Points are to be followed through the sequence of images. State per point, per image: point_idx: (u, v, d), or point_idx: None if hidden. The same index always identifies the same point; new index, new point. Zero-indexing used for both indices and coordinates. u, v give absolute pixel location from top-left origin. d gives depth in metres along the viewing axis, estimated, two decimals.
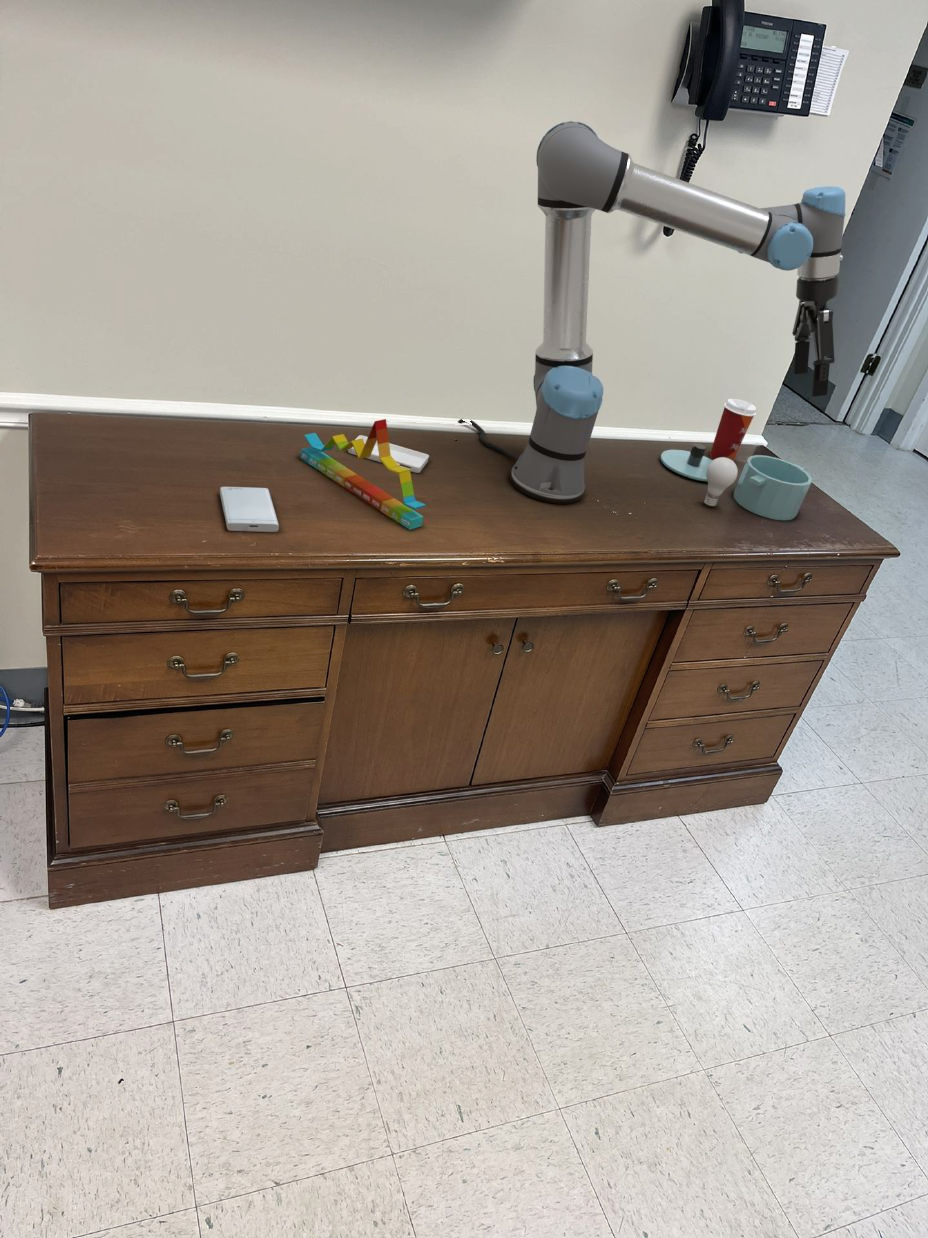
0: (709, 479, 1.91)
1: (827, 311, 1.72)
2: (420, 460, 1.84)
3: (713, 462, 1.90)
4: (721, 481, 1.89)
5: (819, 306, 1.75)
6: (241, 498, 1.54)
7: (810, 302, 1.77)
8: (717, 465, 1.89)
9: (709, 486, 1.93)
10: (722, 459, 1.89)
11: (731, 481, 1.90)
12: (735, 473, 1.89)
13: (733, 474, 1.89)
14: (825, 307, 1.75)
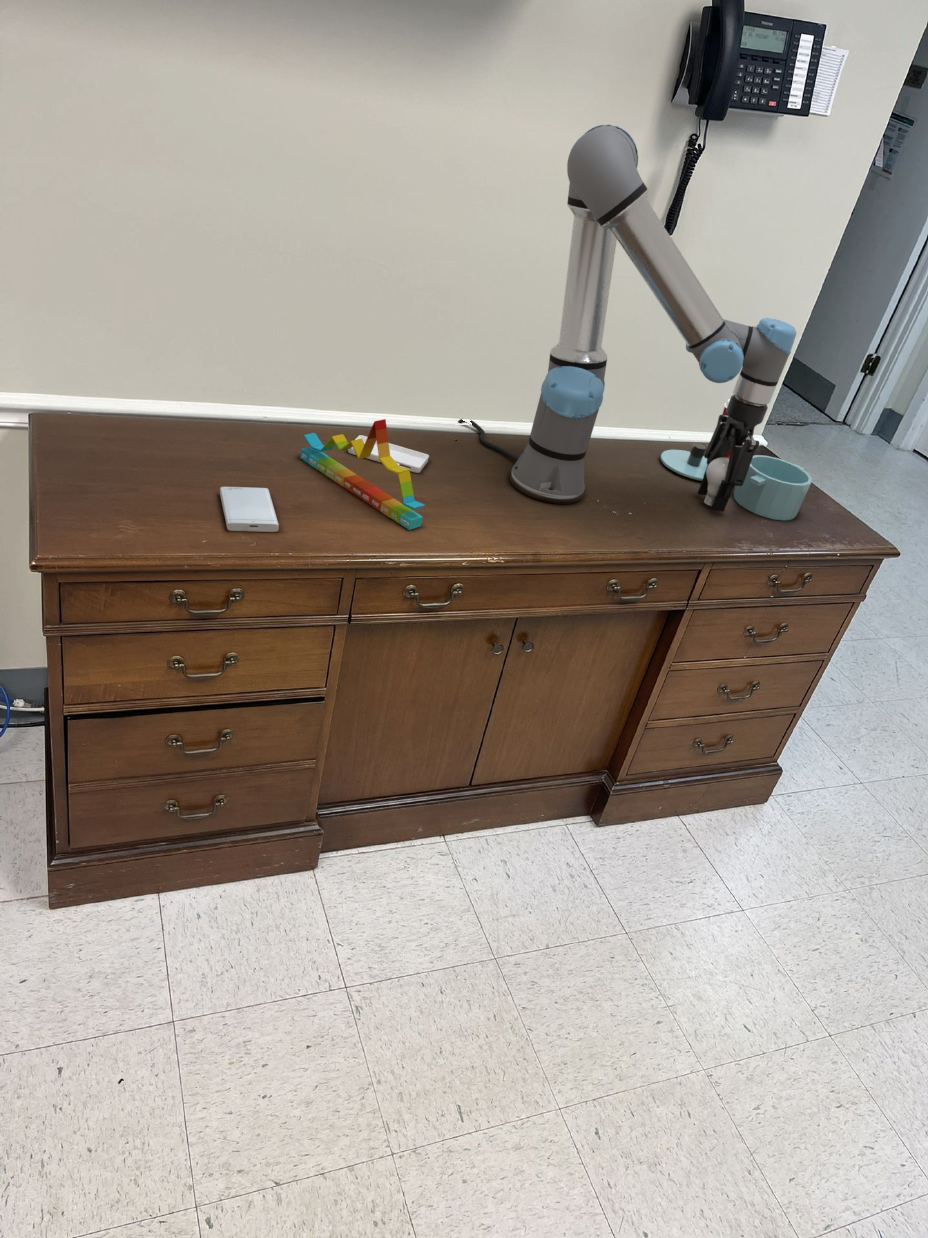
0: (709, 479, 1.91)
1: (754, 443, 1.81)
2: (420, 460, 1.84)
3: (713, 462, 1.90)
4: (721, 481, 1.89)
5: (748, 429, 1.82)
6: (241, 498, 1.54)
7: (738, 422, 1.85)
8: (717, 465, 1.89)
9: (709, 486, 1.92)
10: (722, 459, 1.89)
11: None
12: None
13: None
14: (752, 433, 1.83)
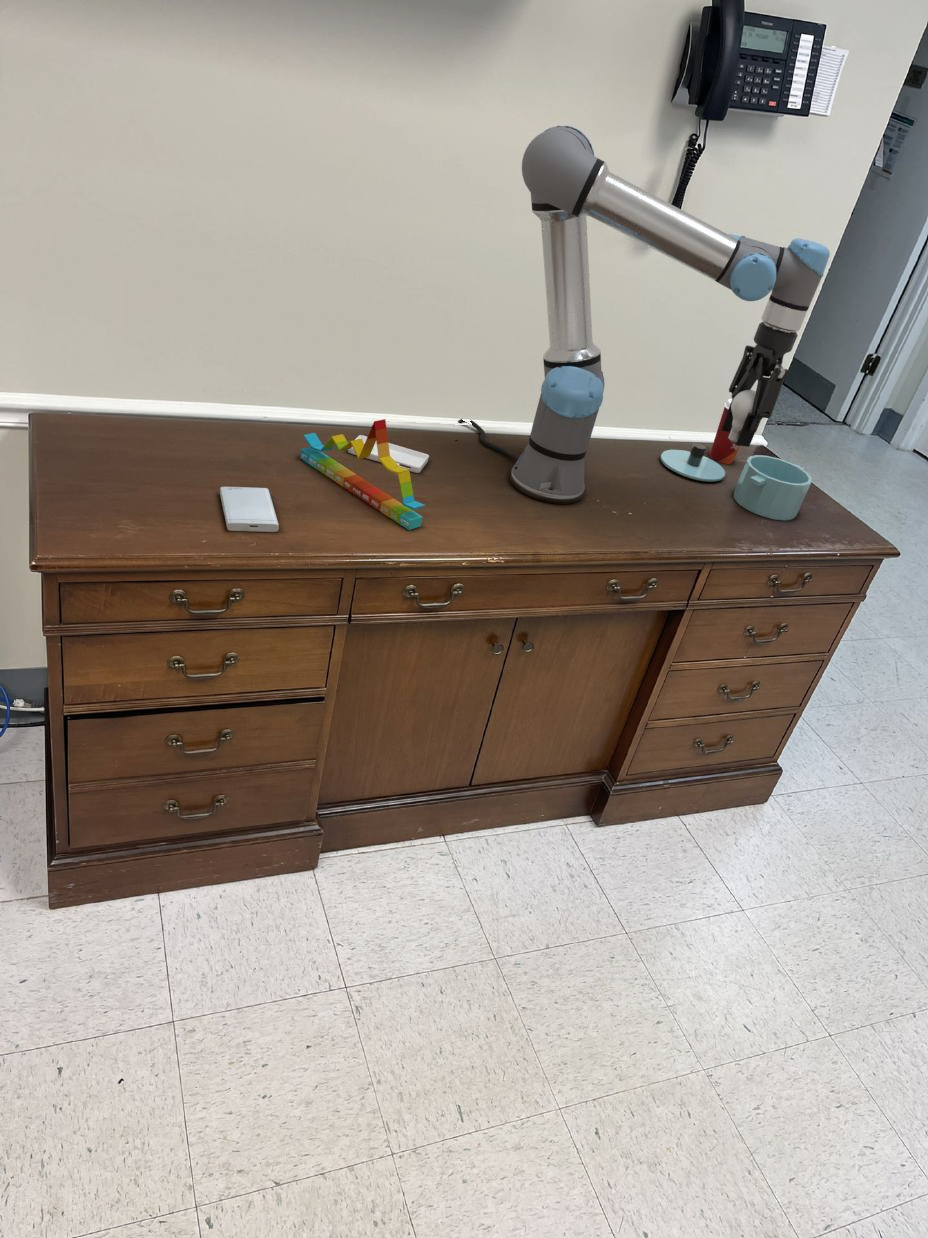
0: (735, 412, 1.83)
1: (784, 371, 1.73)
2: (420, 460, 1.84)
3: (739, 394, 1.82)
4: (747, 414, 1.81)
5: (777, 357, 1.74)
6: (241, 498, 1.54)
7: (766, 350, 1.77)
8: (743, 397, 1.81)
9: (734, 420, 1.85)
10: (748, 391, 1.82)
11: None
12: None
13: None
14: (781, 361, 1.75)
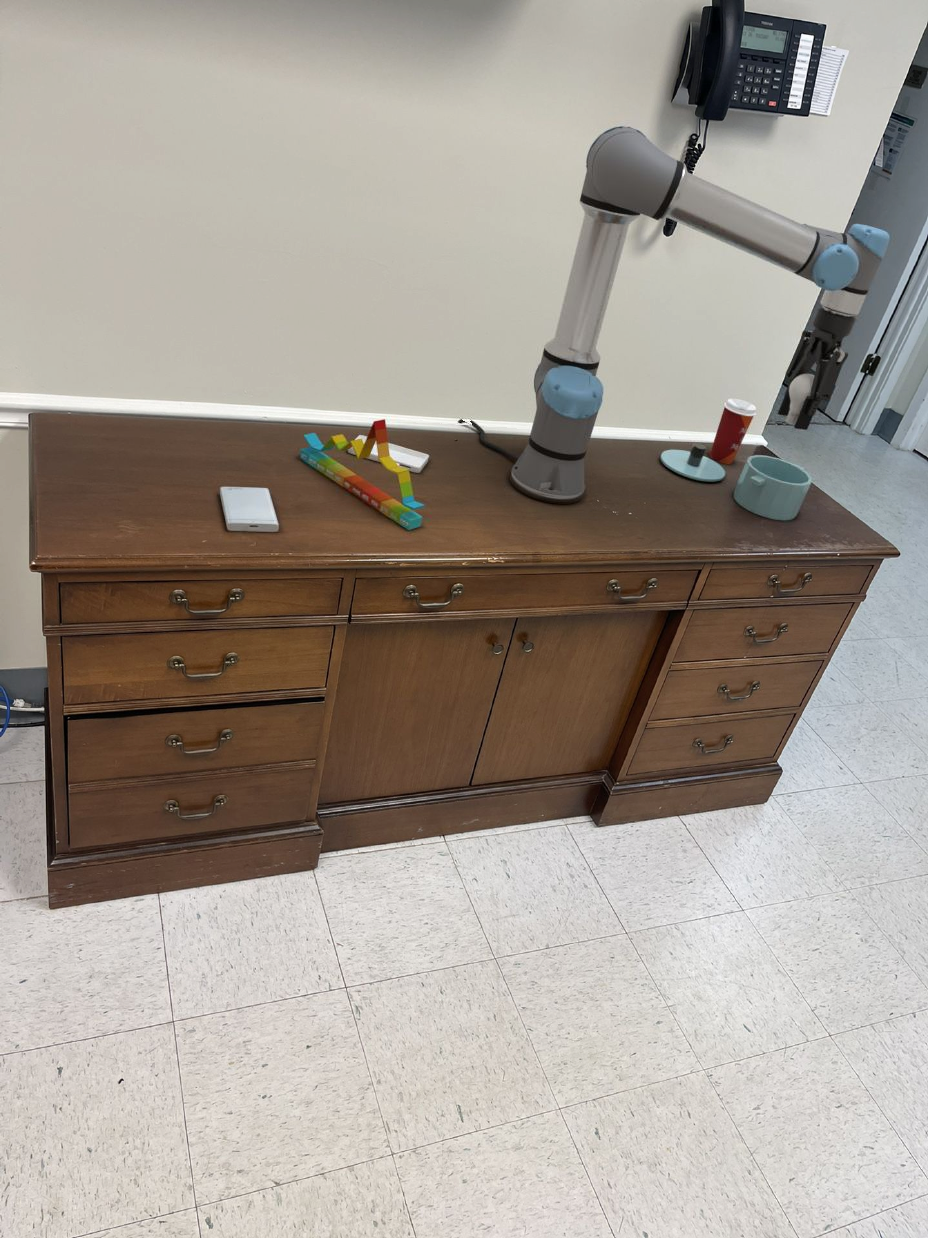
0: (793, 396, 1.86)
1: (843, 354, 1.77)
2: (420, 460, 1.84)
3: (797, 378, 1.86)
4: None
5: (836, 341, 1.78)
6: (241, 498, 1.54)
7: (824, 334, 1.80)
8: (802, 381, 1.85)
9: (792, 404, 1.88)
10: (806, 375, 1.85)
11: None
12: None
13: None
14: (840, 345, 1.78)
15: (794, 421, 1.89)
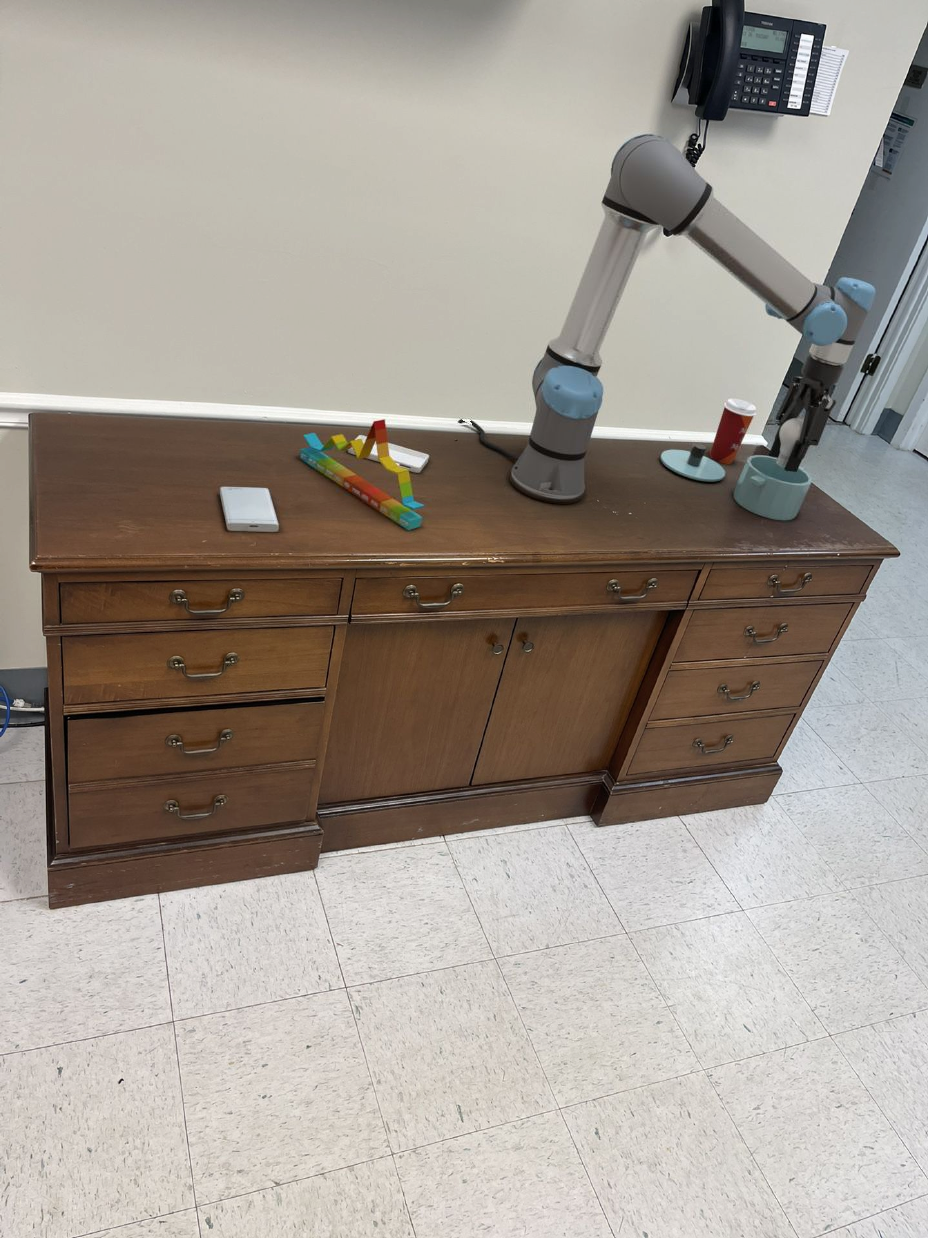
0: (783, 439, 1.93)
1: (831, 402, 1.83)
2: (420, 460, 1.84)
3: (787, 423, 1.92)
4: (795, 441, 1.91)
5: (824, 388, 1.84)
6: (241, 498, 1.54)
7: (813, 382, 1.87)
8: (791, 425, 1.91)
9: (782, 447, 1.94)
10: (796, 419, 1.91)
11: None
12: None
13: None
14: (829, 392, 1.85)
15: (784, 463, 1.96)
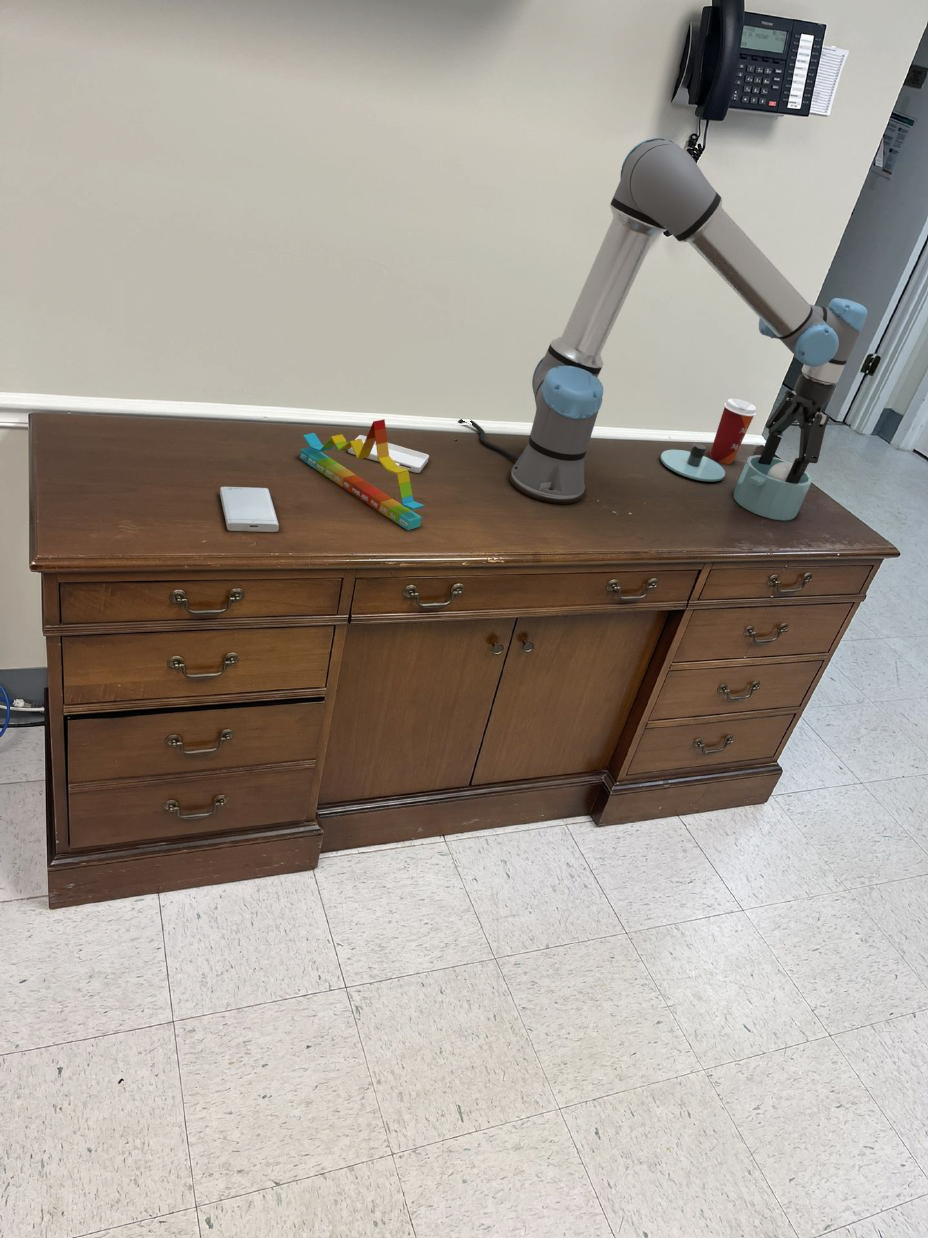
0: None
1: (825, 416, 1.85)
2: (420, 460, 1.84)
3: (777, 469, 1.95)
4: None
5: (816, 407, 1.86)
6: (241, 498, 1.54)
7: (805, 400, 1.89)
8: (779, 476, 1.94)
9: None
10: (786, 470, 1.94)
11: None
12: None
13: None
14: (821, 410, 1.87)
15: None
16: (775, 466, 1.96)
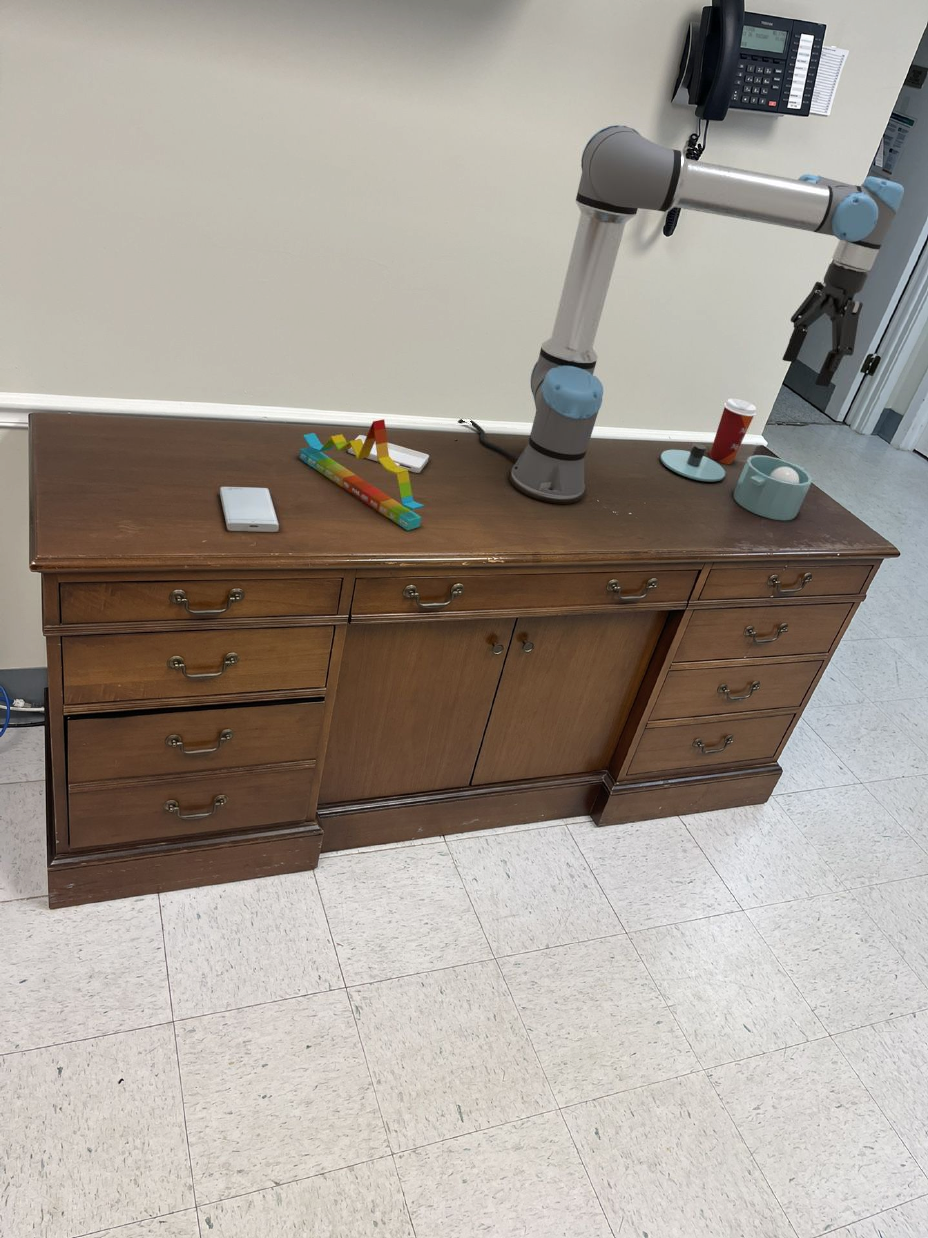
0: None
1: (858, 303, 1.73)
2: (420, 460, 1.84)
3: (778, 475, 1.94)
4: None
5: (847, 297, 1.75)
6: (241, 498, 1.54)
7: (835, 291, 1.78)
8: None
9: None
10: (787, 476, 1.93)
11: None
12: None
13: None
14: (852, 299, 1.76)
15: None
16: (777, 471, 1.95)
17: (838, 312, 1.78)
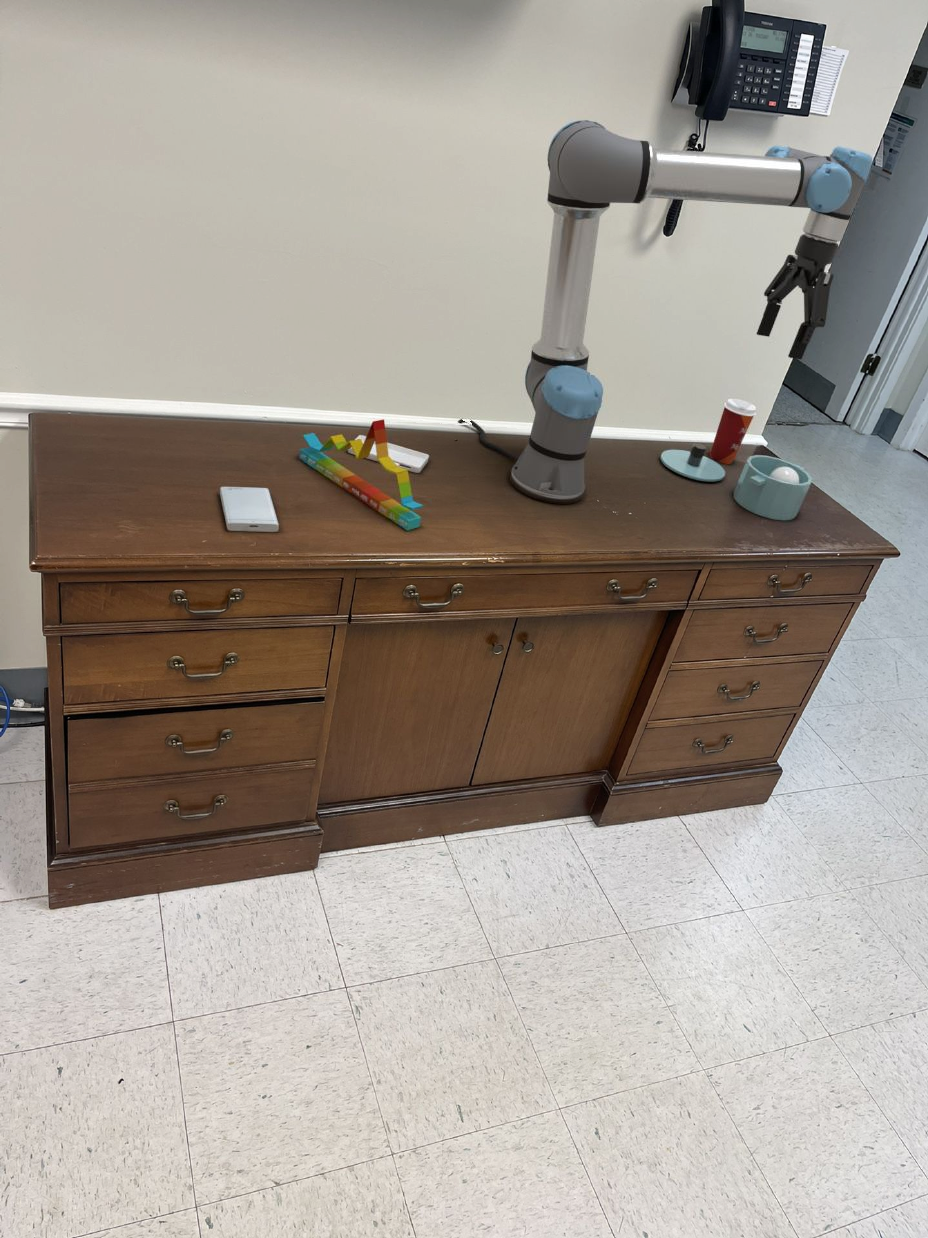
0: None
1: (829, 274, 1.73)
2: (420, 460, 1.84)
3: (778, 475, 1.94)
4: None
5: (818, 268, 1.75)
6: (241, 498, 1.54)
7: (807, 263, 1.78)
8: None
9: None
10: (787, 476, 1.93)
11: None
12: None
13: None
14: (823, 270, 1.75)
15: None
16: (777, 471, 1.95)
17: (810, 284, 1.78)
